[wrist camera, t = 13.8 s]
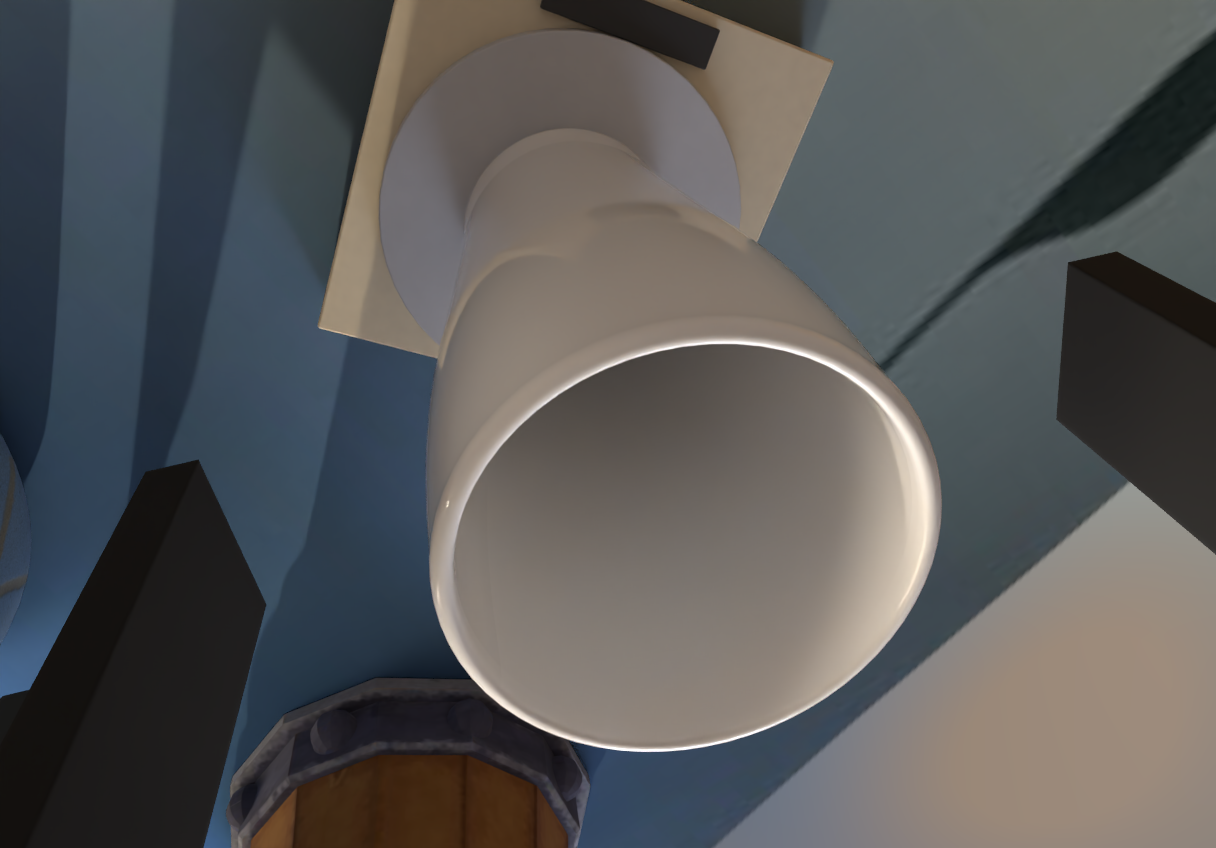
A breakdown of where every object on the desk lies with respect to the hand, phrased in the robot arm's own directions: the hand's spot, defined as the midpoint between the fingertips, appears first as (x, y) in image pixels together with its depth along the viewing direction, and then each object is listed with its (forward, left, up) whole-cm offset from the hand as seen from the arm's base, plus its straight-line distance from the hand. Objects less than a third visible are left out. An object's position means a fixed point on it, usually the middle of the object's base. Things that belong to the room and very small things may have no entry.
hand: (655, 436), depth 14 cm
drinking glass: (0, 0, -12) cm, 12 cm away
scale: (0, 0, -15) cm, 15 cm away
